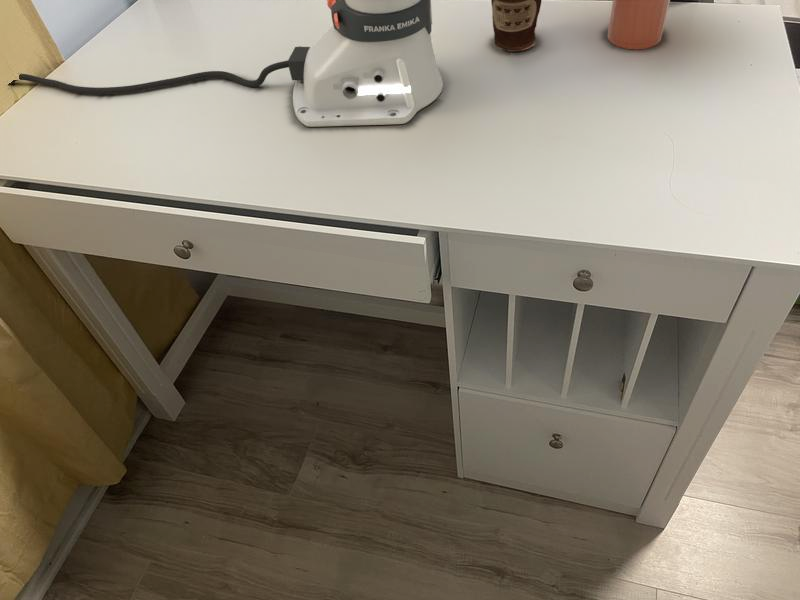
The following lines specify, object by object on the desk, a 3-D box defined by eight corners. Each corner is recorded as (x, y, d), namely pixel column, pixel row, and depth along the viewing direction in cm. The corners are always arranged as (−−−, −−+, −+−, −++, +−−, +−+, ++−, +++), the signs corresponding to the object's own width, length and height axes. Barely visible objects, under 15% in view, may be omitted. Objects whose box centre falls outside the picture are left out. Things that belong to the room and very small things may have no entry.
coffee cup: (540, 58, 101) (546, -29, 91) (485, 57, 103) (486, -29, 93) (543, 29, 107) (549, -56, 97) (491, 29, 108) (492, -55, 99)
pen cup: (617, 52, 100) (628, -14, 93) (600, 27, 106) (610, -38, 98) (669, 45, 100) (684, -22, 93) (650, 20, 106) (663, -46, 98)
